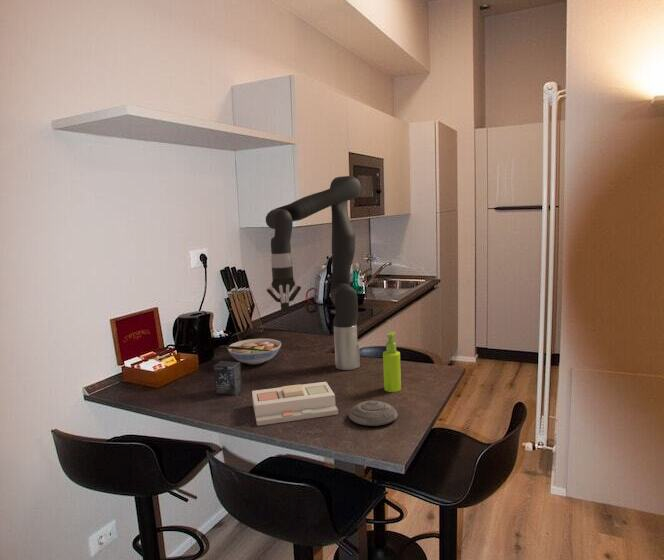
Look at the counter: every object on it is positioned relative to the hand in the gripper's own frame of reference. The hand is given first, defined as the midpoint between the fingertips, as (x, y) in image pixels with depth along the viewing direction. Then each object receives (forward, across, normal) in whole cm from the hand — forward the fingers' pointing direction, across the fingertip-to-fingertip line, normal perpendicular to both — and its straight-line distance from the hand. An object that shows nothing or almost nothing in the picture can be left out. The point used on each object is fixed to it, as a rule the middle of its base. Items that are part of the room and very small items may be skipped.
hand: (285, 312), depth 182 cm
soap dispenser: (+27, -33, +19) cm, 47 cm away
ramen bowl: (+27, +10, -31) cm, 42 cm away
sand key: (+23, +3, +23) cm, 33 cm away
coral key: (+25, +11, +23) cm, 36 cm away
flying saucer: (+27, -19, +40) cm, 52 cm away
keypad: (+27, +3, +25) cm, 37 cm away
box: (+27, +22, +1) cm, 35 cm away
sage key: (+25, -5, +23) cm, 35 cm away
